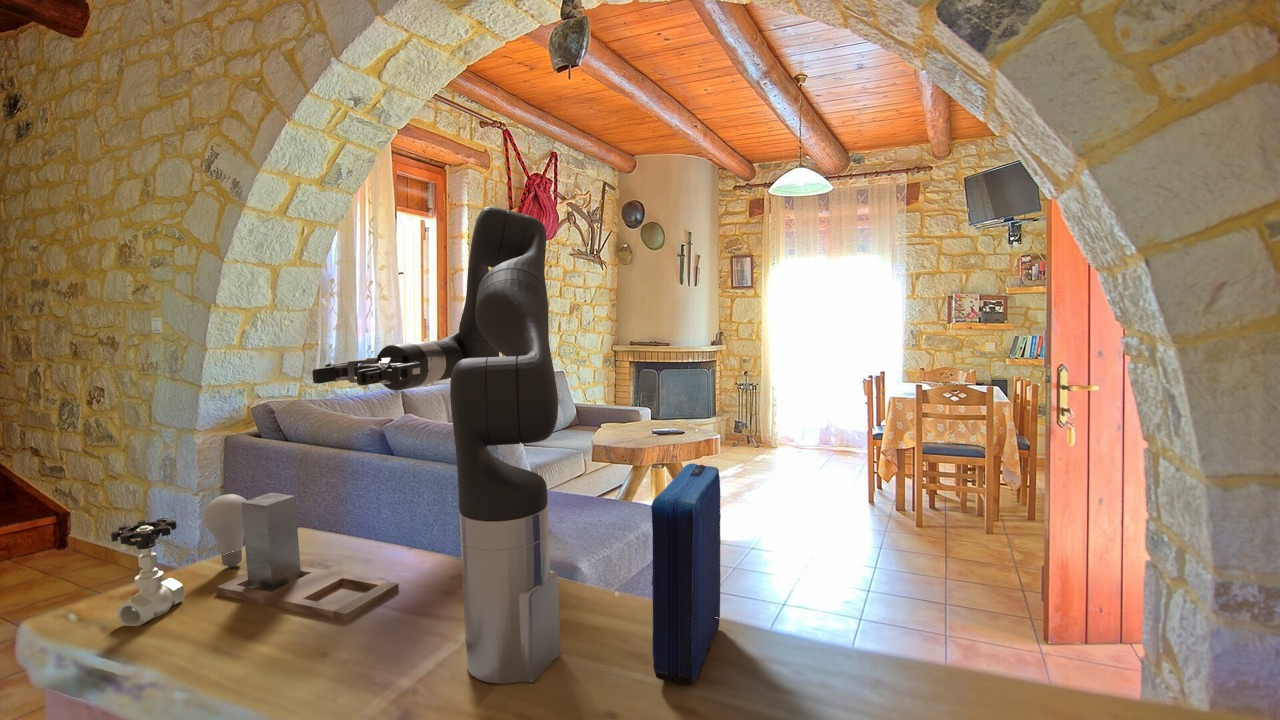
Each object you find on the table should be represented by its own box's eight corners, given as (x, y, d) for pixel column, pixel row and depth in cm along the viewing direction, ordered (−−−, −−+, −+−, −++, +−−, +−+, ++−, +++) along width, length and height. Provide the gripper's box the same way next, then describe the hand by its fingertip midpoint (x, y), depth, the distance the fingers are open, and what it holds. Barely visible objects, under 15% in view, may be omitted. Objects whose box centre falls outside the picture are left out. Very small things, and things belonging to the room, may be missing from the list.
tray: (399, 596, 91) (398, 583, 91) (347, 627, 83) (346, 613, 82) (275, 573, 99) (274, 561, 99) (217, 599, 91) (216, 586, 91)
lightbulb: (264, 563, 103) (258, 492, 102) (222, 578, 98) (215, 503, 96) (242, 555, 106) (236, 486, 105) (200, 570, 101) (193, 497, 100)
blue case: (683, 620, 83) (680, 458, 81) (726, 626, 81) (725, 461, 79) (648, 687, 69) (644, 494, 67) (700, 695, 67) (697, 498, 65)
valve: (197, 607, 89) (188, 518, 88) (156, 632, 82) (147, 536, 81) (150, 606, 90) (141, 517, 88) (106, 631, 83) (96, 535, 82)
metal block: (301, 580, 94) (294, 495, 93) (273, 594, 90) (265, 505, 89) (277, 575, 96) (270, 492, 95) (248, 589, 92) (241, 502, 91)
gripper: (377, 342, 117) (298, 351, 102) (445, 343, 111) (372, 352, 97) (380, 385, 118) (301, 400, 103) (448, 388, 112) (376, 405, 97)
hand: (336, 377), depth 100 cm, fingers open, 8 cm apart
